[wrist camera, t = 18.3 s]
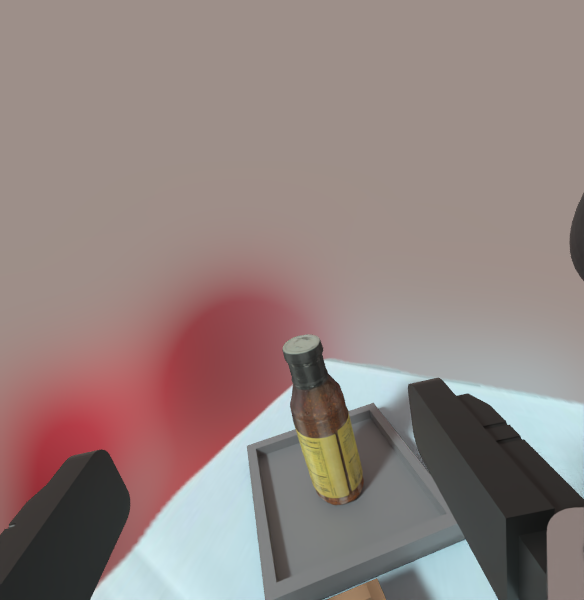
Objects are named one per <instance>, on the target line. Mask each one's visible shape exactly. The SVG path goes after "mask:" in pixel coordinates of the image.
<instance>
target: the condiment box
mask: <svg viewBox="0 0 584 600" xmlns="http://www.w3.org/2000/svg"><path fill="white" fill-rule="evenodd" d="M327 600H386V598H385V596H384V593H383V591H382V589H381V586H380V584H379V582H378V579H374V580H372V581H370V582H367V583H365V584H362V585H360V586H358V587H355V588H353V589H351V590H348V591H346V592H344V593H341V594H339V595H336V596H334V597H332V598H329V599H327Z"/></svg>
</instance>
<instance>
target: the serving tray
mask: <svg viewBox="0 0 584 600" xmlns="http://www.w3.org/2000/svg"><path fill="white" fill-rule="evenodd" d="M348 412H349V416H350V420H351V425H352V429H353V433H354V437H355V441H356V445H357V449H358V453H359V457H360V461H361V466H362V471H363V474H362V475H363V479H364V484H363V488H362V490H361V493H360V494H359V496H358V497H357V498H356V499H355V500H353V501H352V502H349V503H346V504H342V505H332V504H330V503H327V502H326V501H324V500H323V499H322V498H321V497H320V496H319V495H318V494H317V492H316V489H315V487H314V486H313V483H312V480H311V477H310V474H309V470H308V467H307V464H306V461H305V458H304V455H303V452H302V448H301V445H300V442H299V439H298V435H297V432H296V429H295V430H292V431H289V432H286V433H283V434H280V435H278V436H275V437H272V438H269V439H266V440H263V441H260V442H257V443H254V444H251V445H248V446H247V451H248V459H249V468H250V476H251V484H252V493H253V501H254V510H255V518H256V526H257V535H258V543H259V552H260V560H261V568H262V577H263V585H264V594H265V600H322V599H325V598H327V597H329V596H332V595H334V594H336V593H339V592H341V591H344V590H346V589H348V588H351V587H353V586H355V585H358V584H360V583H363V582H365V581H367V580H370V579H372V578H374V577H377V576H379V575H381V574H384V573H386V572H389V571H391V570H393V569H396V568H398V567H400V566H403V565H405V564H408V563H410V562H412V561H415V560H417V559H419V558H422V557H424V556H427V555H429V554H431V553H434V552H436V551H438V550H441V549H443V548H446V547H448V546H450V545H453V544H455V543H457V542H460V541H462V540H465V537H464V535H463V533H462V531H461V529H460V528H459V526H458V524H457V522H456V520H455V518H454V517H453V515H452V513H451V511H450V509H449V507H448V505H447V504H446V502H445V500H444V498H443V496H442V494H441V493H440V491H439V489H438V487H437V485H436V483H435V482H434V480H433V478H432V476H431V475H430V473H429V472H428V471H427V470H426V468H425V467H424V466H423V465H422V463H421V462H420V461H419V460H418V458H417V457H416V456H415V455H414V453H413V452H412V451H411V450H410V448H409V447H408V446H407V445H406V443H405V442H404V441H403V439H402V438H401V437H400V436H399V434H398V433H397V432H396V431H395V429H394V428H393V427H392V426H391V424H390V423H389V422H388V421H387V419H386V418H385V417H384V416H383V414H382V413H381V412H380V411H379V409H378V408H377V407H376V406H375V404H374V403H372V404H369V405H366V406H363V407H360V408H357V409H354V410H351V411H348Z"/></svg>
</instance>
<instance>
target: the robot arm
mask: <svg viewBox="0 0 584 600" xmlns="http://www.w3.org/2000/svg"><path fill="white" fill-rule="evenodd" d="M570 253H571V258H572V261H573V264H574V266H575V269H576V270H577V272H578V273H579V275H580V277H581V278H582V279H583V281H584V193H583V196H582V198H581V200H580V202H579V204H578V206H577V209H576V212H575V215H574V218H573V221H572V226H571V232H570ZM408 394H409V402H410V410H411V418H412V425H413V433H414V438H415V441H416V445H417V448H418V450H419V453H420V455H421V457H422V459H423V461H424V463H425V465H426V467H427V469H428V470H429V472H430V474H431V476H432V478H433V480H434V482H435V483H436V485H437V487H438V489H439V491H440V493H441V494H442V496H443V498H444V500H445V502H446V504H447V505H448V507H449V509H450V511H451V513H452V515H453V517H454V518H455V520H456V522H457V524H458V526H459V528H460V529H461V531H462V533H463V535H464V537H465V539H466V541H467V542H468V544H469V546H470V548H471V550H472V552H473V553H474V555H475V557H476V559H477V561H478V563H479V565H480V566H481V568H482V570H483V572H484V574H485V576H486V577H487V579H488V581H489V583H490V585H491V587H492V588H493V590H494V592H495V594H496V596H497V598H498V600H584V499H583V498H582V497H581V496H580V495H579V494H578V493H577V492H576V491H575V490H574V489H573V488H572V487H571V486H570V485H569V484H568V483H567V482H566V481H565V480H564V479H563V478H562V477H561V476H560V475H559V474H558V473H557V472H556V471H555V470H554V469H553V468H552V467H551V466H550V465H549V464H548V463H547V462H546V461H545V460H544V459H543V458H542V457H541V456H540V455H539V454H538V453H537V452H536V451H535V450H534V449H533V448H532V447H531V446H530V445H529V444H528V443H527V442H526V441H525V440H522V439H521V437H520V435H519V434H518V433H517V432H516V431H515V430H514V429H513V428H512V427H511V426H510V425H507V423H506V421H505V420H504V419H503V418H502V417H501V416H500V415H499V414H498V413H497V412H496V411H495V410H494V409H493V408H492V407H491V406H490V405H489V404H487V403H485V402H483V401H481V400H479V399H477V398H475V397H473V396H472V395H470V394H463V395H459V396H456V395H455V394H454V393H453V392H452V391H451V390H450V388H449V387H448V386H447V385H446V384H445V383H444V382H443V380H442V379H440V378H435V379H430V380H425V381H421V382H416V383H412V384H409V385H408ZM129 511H130V496H129V492H128V490H127V488H126V486H125V484H124V482H123V480H122V478H121V476H120V474H119V472H118V470H117V468H116V466H115V464H114V463H113V460H112V459H111V457H110V455H109V453H108V452H107V451H105V450H97V451H92V452H88V453H83V454H78V455H74V456H71V457H69V458H68V459H67V460H66V461H65V462H64V463H63V465H62V466H61V467H60V469H59V470H58V471H57V472H56V474H55V475H54V476H53V478H52V479H51V480H50V481H49V483H48V484H47V485H46V486H45V487H43V488H42V489H41V490H40V491H39V492H38V493H37V494H36V495H34V496H33V497H32V498H31V499H30V500H29V501H28V502H27V503H26V504H25V505H24V506H23V508H22V509H21V510H20V511H19V513H18V514H17V515H16V516H15V518H14V519H13V520H12V521H11V522H10V524H9V528H8V529H5V530H4V531H3V532H2V534H1V535H0V600H90V599H91V597H92V595H93V592H94V590H95V588H96V586H97V584H98V582H99V579H100V577H101V575H102V573H103V571H104V568H105V566H106V564H107V562H108V560H109V557H110V555H111V553H112V551H113V549H114V547H115V545H116V543H117V540H118V538H119V536H120V534H121V532H122V529H123V527H124V525H125V523H126V520H127V518H128V515H129Z"/></svg>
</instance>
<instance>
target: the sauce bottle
mask: <svg viewBox="0 0 584 600" xmlns="http://www.w3.org/2000/svg"><path fill="white" fill-rule="evenodd" d="M322 352H323V347H322V344H321V341H320V339H319V338H318V337H317V336H315V335H303V336H297V337H294V338H292V339H290V340H288V342H286V343H285V344H284V346H283V353H284V358H285V360H286V361H287V363H288V365H289V368H290V372H291V375H292V382H293V390H292V398H291V402H290V407H291V412H292V417H293V422H294V425H295V428H296V432H297V435H298V439H299V442H300V445H301V448H302V452H303V455H304V458H305V461H306V464H307V467H308V470H309V474H310V477H311V480H312V483H313V486H314V487H315V489H316V492H317V494H318V495H319V496H320V497H321V498H322V499H323V500H324V501H326V502H327V503H330V504H332V505H342V504H346V503H349V502H352V501H353V500H355V499H356V498H357V497H358V496H359V494H360V493H361V490H362V488H363V484H364V479H363V475H362V474H363V471H362V466H361V461H360V457H359V453H358V449H357V445H356V441H355V437H354V433H353V429H352V425H351V420H350V416H349V412H348V409H347V407H346V405H345V400H344V396H343V393H342V391H341V388H340V386H339V384H338V383H337V382H336V381H335V380H334V379H333V378H332V377H331V376H330V375H329V374H328V372H327V369H326V368H325V363H324V360H323V356H322Z"/></svg>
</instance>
